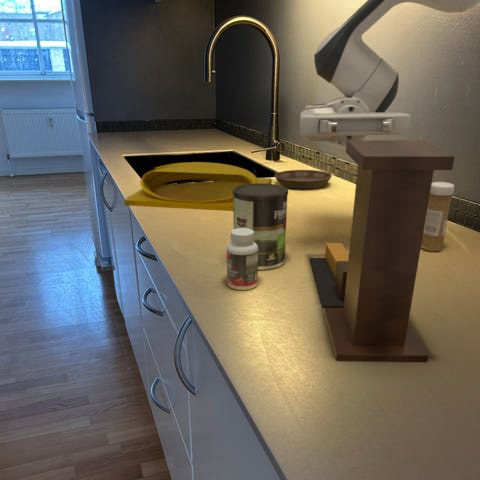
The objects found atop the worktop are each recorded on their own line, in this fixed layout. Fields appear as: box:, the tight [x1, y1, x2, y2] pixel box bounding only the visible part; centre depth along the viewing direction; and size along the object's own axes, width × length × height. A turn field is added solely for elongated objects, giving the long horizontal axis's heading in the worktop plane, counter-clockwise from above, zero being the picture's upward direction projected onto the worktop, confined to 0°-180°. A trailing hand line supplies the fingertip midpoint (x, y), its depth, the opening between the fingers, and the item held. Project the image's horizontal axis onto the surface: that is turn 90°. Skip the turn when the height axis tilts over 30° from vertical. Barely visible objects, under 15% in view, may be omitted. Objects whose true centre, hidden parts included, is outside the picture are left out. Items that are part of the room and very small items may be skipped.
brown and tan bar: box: [324, 242, 349, 300], centre depth 91 cm, size 5×20×5 cm, turn 1°
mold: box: [124, 161, 272, 212], centre depth 149 cm, size 35×35×9 cm
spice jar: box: [421, 181, 455, 252], centre depth 104 cm, size 5×5×13 cm
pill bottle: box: [226, 228, 259, 291], centre depth 88 cm, size 5×5×10 cm
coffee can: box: [232, 183, 289, 271], centre depth 97 cm, size 10×10×14 cm
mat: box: [309, 257, 344, 309], centre depth 91 cm, size 12×22×1 cm, turn 178°
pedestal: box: [323, 139, 456, 363], centre depth 68 cm, size 12×14×26 cm
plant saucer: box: [274, 169, 333, 190], centre depth 160 cm, size 18×18×3 cm
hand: (359, 127), depth 89 cm, fingers open, 8 cm apart
